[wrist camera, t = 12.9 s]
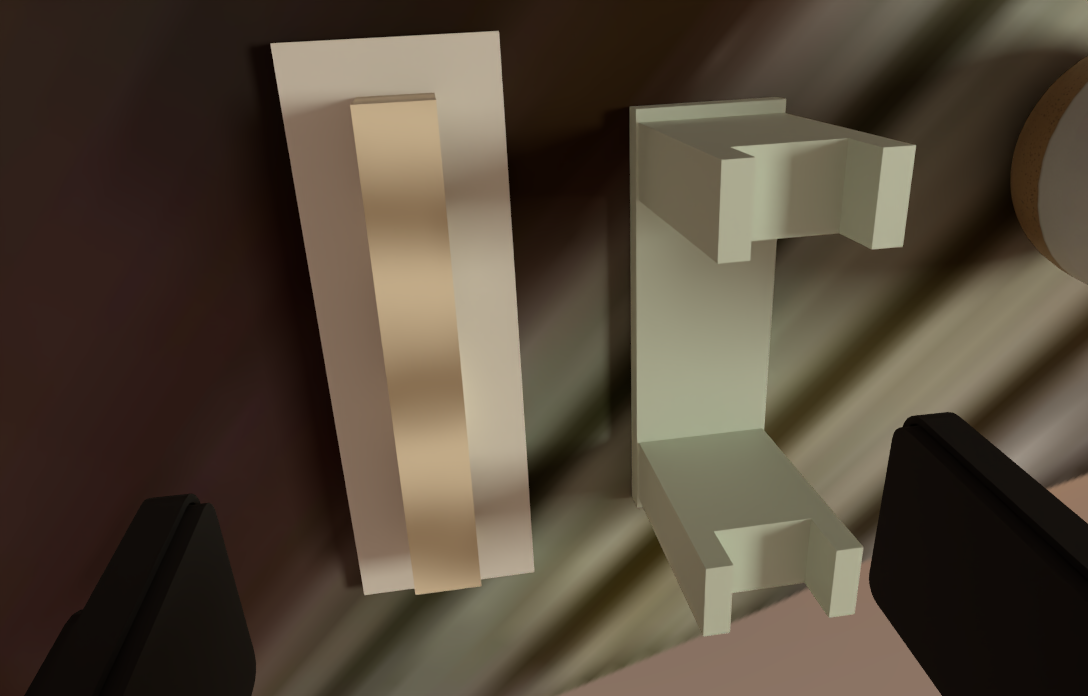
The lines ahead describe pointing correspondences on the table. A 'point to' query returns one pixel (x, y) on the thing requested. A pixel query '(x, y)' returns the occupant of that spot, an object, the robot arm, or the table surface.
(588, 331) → the table surface
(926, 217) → the table surface
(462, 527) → the rail
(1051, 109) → the vase
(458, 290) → the felt mat
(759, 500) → the cradle stand
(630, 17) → the table surface
